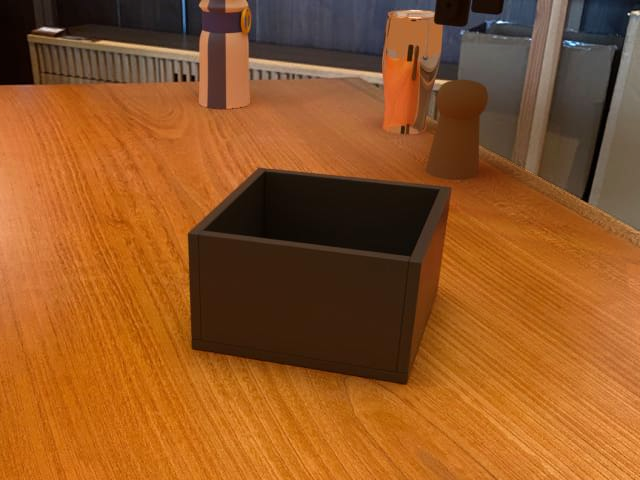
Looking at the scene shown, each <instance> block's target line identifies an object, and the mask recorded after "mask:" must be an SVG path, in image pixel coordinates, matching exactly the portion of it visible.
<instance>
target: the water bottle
mask: <svg viewBox="0 0 640 480" xmlns="http://www.w3.org/2000/svg"><path fill="white" fill-rule="evenodd" d="M198 7H199V8H200V9H201V24H202V25H201V26H202V30H201V31H200V32H201V33H200V36H199V46H198V47H199V49H198V50H199V52H198V54H199V55H198V56H199V81H198V83H199V85H198V105H199V106H201V107H204V108H209V109H217V110H230V109H231V110H232V108H233V109H239V108H240V107H241V108H245V107H247V106H249V105H250V104H251V94H250V92H251V91H250V50H249V49H250V48H249V47H250V44H249V43H250V42H249V35H248V34H249V32H250V30H251V26H252V12H251V9H250V7H249V3H248V1H247V0H200V2H199V3H198ZM241 108H240V109H241Z"/></svg>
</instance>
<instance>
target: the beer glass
mask: <svg viewBox="0 0 640 480" xmlns="http://www.w3.org/2000/svg"><path fill="white" fill-rule="evenodd" d="M434 15H435V10H425V9H400V10H399V9H397V10H391V11H388V12H387V18H386V25H385V30H384V37H383V44H382V57H381V58H382V59H381V60H382V61H381V62H382V63H381V64H382V65H381V66H382V67H381V68H382V71H381V72H382V84H383V95H384V97H383V98H384V115H383V121H382V125H381V130H383V131H385V132H388V133H392V134H398V135H415V134H421V133H425V132H427V117H428V109H429V105H430V100H431V96H432V93H433V89H434V86H435V83H436V79H437V75H438V72H439V68H440V67H439V66H440V62H441V55H442V47H443V46H442V44H443V32H444V31H443V30H444V25H438V24H435V22H434Z"/></svg>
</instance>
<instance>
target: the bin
mask: <svg viewBox="0 0 640 480" xmlns="http://www.w3.org/2000/svg"><path fill="white" fill-rule="evenodd" d="M452 190H453V188H452V186H446V185H435V184H427V183H426V184H425V183H415V182H408V181H407V182H406V181H398V180H397V181H396V180H387V179H386V180H385V179H377V178H368V177H367V178H366V177H359V176H357V177H356V176H345V175H338V174H327V173H316V172H307V171H298V170H297V171H296V170H287V169H278V168H267V167H266V168H265V167H257V168H256V169H255V170H254V171H253V172H252V173H251V174H250V175H249V176H248V177H246V178H245V179H244V180H243V181H242V182H241V183H240V184H239V185H238V186H237V187H236V188H235V189H234V190H233V191H232V192H230V193H229V194H228V195H227V196H226V197H225V198H224V199H223V200H222V201H221V202H219V203H218V205H216V206H215V207H214V208H213V209H212V210H211V211H210V212H209V213H208V214H206V215H205V217H203V218H202V220H200V221H199V222H198V223H197V224H196V225H195V226H194V227H193V228H191V229H190V230H189V231H188V232H187V250H188V251H187V255H188V276H189V278H188V281H189V282H188V283H189V306H190V307H189V309H190V310H189V311H190V338H191V339H190V340H191V341H190V342H191V349H194V350H200V351H206V352H211V353H218V354H224V355H230V356H236V357H240V358H241V357H242V358H247V359H248V358H249V359H253V360H254V359H255V360H261V361H266V362H271V363H272V362H273V363H278V364H284V365H290V366H295V367H303V368H308V369H314V370H320V371H327V372H332V373H339V374H345V375H351V376H356V377H363V378H368V379H375V380H380V381H385V382H393V383H398V384H405V385H407V384H408V381H409V378H410V376H411V372H412V370H413V367H414V364H415V360H416V357H417V354H418V351H419V348H420V345H421V342H422V339H423V336H424V332H425V330H426V327H427V324H428V321H429V319H430V315H431V312H432V310H433V306H434V303H435V300H436V298H437V294H438V291H439V284H440V276H441V270H442V261H443V254H444V249H445V248H444V246H445V242H446V241H445V240H446V233H447V226H448V219H449V212H450V205H451V198H452V197H451V195H452Z"/></svg>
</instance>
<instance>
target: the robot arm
mask: <svg viewBox="0 0 640 480" xmlns="http://www.w3.org/2000/svg"><path fill="white" fill-rule="evenodd" d="M504 5H505V0H436V1H435V8H434V11H435V15H434V22H435V24H438V25H443V26H447V27H458V28H464V27H466V26H468V24H469V18H470V11H471V12H472V13H475V14H485V15H494V16H495V15H496V16H498V15H501V14H503V11H504Z"/></svg>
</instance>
